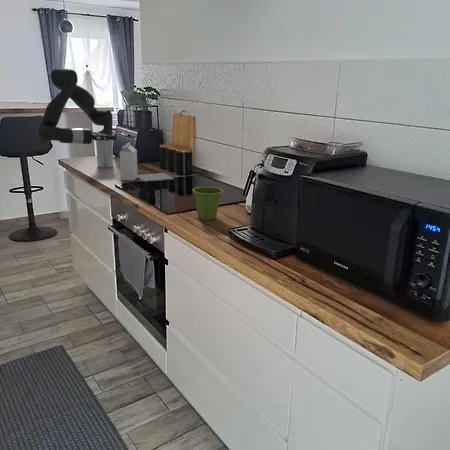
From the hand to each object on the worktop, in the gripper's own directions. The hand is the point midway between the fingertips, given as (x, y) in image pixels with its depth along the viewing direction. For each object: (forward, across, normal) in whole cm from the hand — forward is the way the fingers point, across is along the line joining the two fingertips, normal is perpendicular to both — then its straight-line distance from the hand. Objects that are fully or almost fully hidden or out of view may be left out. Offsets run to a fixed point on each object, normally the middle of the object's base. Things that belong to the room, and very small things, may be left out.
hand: (113, 136), depth 224 cm
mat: (+22, -2, +21) cm, 31 cm away
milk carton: (+9, 0, +22) cm, 24 cm away
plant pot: (+12, -77, +24) cm, 82 cm away
